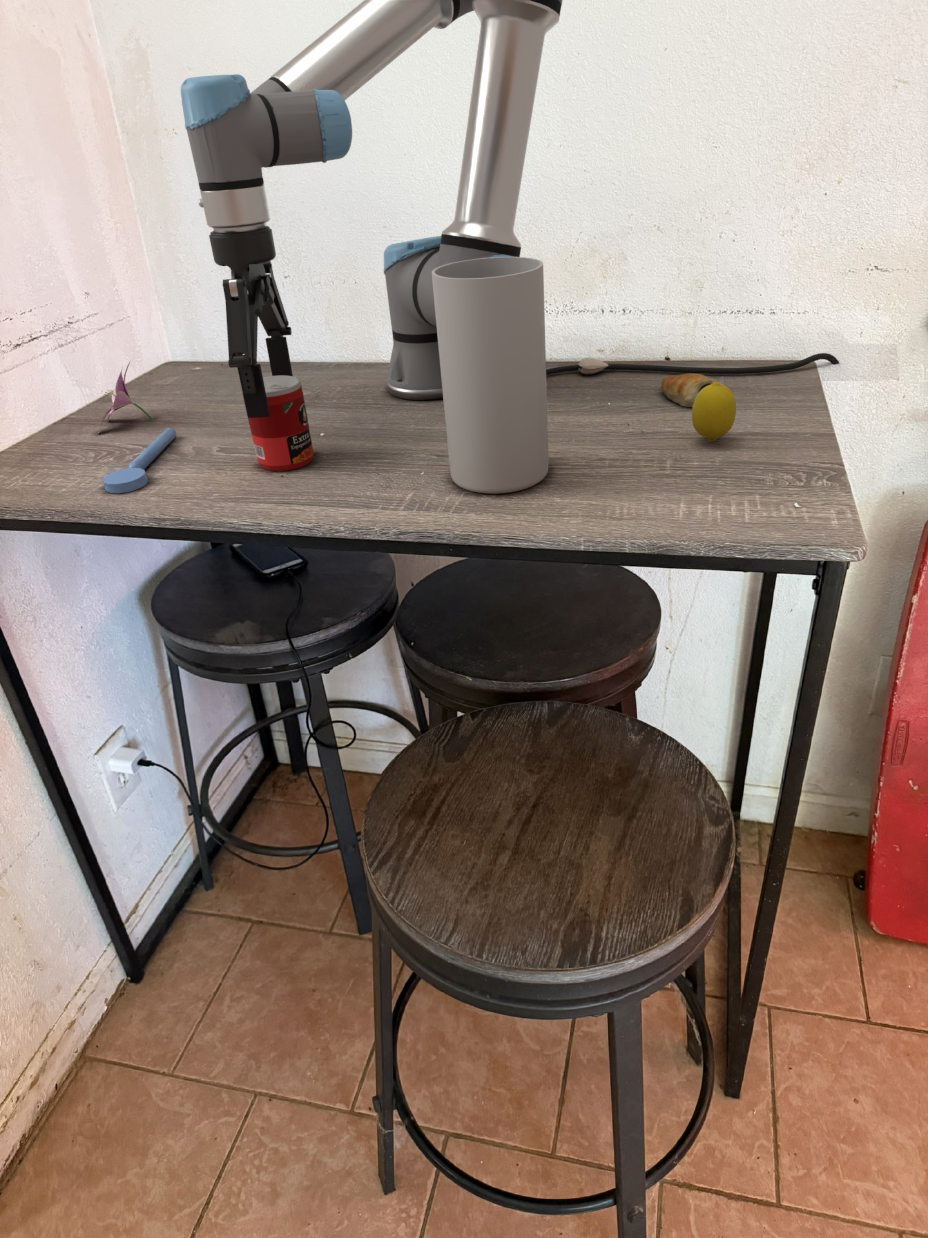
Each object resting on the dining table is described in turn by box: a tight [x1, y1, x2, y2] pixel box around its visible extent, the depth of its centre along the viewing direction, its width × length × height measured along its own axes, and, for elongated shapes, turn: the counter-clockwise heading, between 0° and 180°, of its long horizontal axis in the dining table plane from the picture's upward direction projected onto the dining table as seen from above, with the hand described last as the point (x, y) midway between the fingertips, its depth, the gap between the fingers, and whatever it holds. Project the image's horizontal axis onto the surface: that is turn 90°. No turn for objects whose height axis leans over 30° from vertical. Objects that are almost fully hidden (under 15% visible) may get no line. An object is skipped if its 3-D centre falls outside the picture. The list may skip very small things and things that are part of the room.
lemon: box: [691, 381, 737, 443], centre depth 110 cm, size 6×6×8 cm
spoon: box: [102, 427, 177, 494], centre depth 121 cm, size 21×6×2 cm, turn 177°
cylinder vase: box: [432, 256, 550, 495], centre depth 101 cm, size 12×12×25 cm
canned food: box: [242, 375, 315, 472], centre depth 115 cm, size 8×8×11 cm
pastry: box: [659, 373, 718, 408], centre depth 127 cm, size 9×7×4 cm
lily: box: [98, 360, 154, 432], centre depth 136 cm, size 12×12×10 cm
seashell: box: [578, 357, 609, 376], centre depth 141 cm, size 4×5×2 cm
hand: (272, 400), depth 113 cm, fingers open, 13 cm apart
